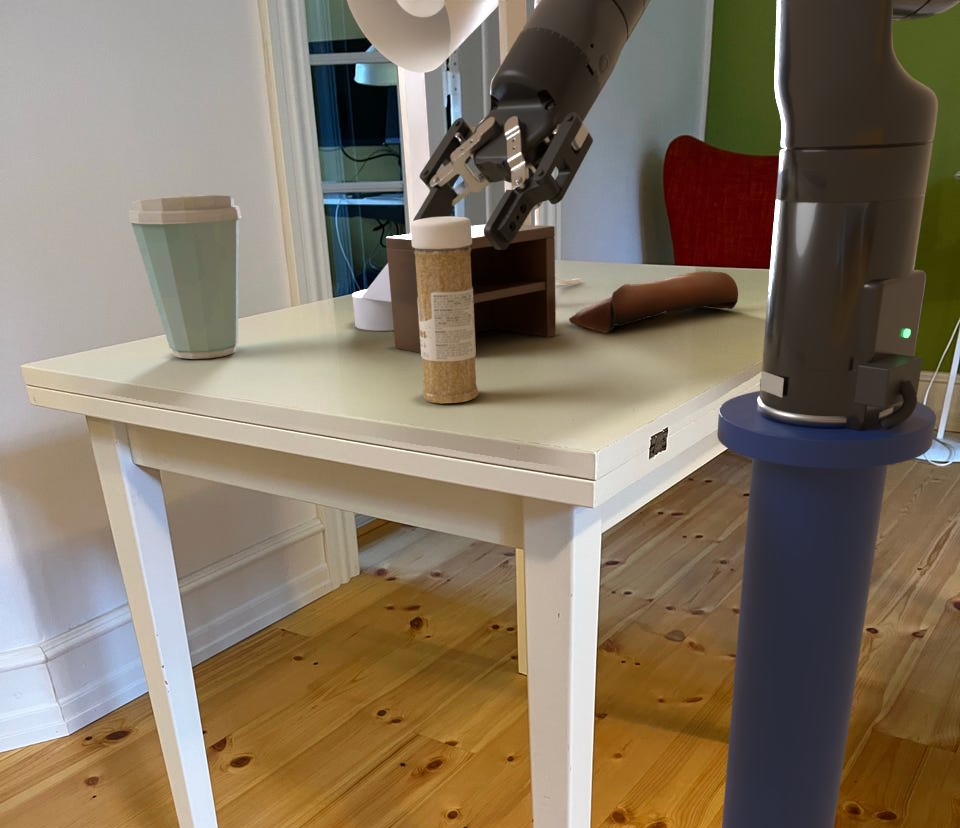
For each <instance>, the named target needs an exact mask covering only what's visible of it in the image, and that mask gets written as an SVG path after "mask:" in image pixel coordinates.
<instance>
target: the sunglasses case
mask: <svg viewBox="0 0 960 828" xmlns="http://www.w3.org/2000/svg"><path fill="white" fill-rule="evenodd" d="M738 300H739V288H738V285H737V283H736V281H735V279H734V278H733V277H732V276H731V275H729V274H728V273H726V272H723V271H712V270H708V271H707V270H706V271H705V270H704V271H694V272H693V271H692V272H687V273H683V274H678V275H674V276H670V277H669V278H668V277H667V278H665V279H662V280H656V281H648V282H641V283H640V282H639V283H625V284H623V285H621V286H619V287H618V288H617V289H616V290H614V291H613V292H612V295H611V296H610V297H607V298H604V299H603V300H600V301H597V302H594V303H592V304H589V305H587V306H586V307H584V308H582V309H580V310H579V311H578V312H576V313H574V314H573V315H571V316H570V317H569V318H568V320H569V321H568V322H570V324H573V325H576V326H578V327H579V328H582V329H585V330H588V331H593V332H598V333H603V334H608V333H609V332H610V331H612V330H613V328H615V326H618V327H619V326H620V327H621V326H624V325H627V324H631V323H634V322H638V321H642V320H645V319H647V318H649V317H651V318H652V317H653V318H654V317H656V316H658V315H661V314H663V313H673V312H680V311H681V312H682V311H685V310H689V309H693V308H705V307H707V308H711V309H729V310H732V309H734V308H735V307H736V305H737V303H738Z"/></svg>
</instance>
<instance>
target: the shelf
mask: <svg viewBox="0 0 960 828" xmlns="http://www.w3.org/2000/svg"><path fill="white" fill-rule="evenodd" d="M486 224H487V223H486ZM486 224H485V223H484V224H478V225H477V224H476V225H471V230H472V244H471V245H470V248H471V252H470V257H471V279H472V287H473V302H474V324H475V334H476V333H481V332H484V331H489V330H500V331H504V332H505V331H507V332H512V333H518V334H519V333H520V334H526V335H532V336H537V337H538V336H540V337H546V338H549V337H554V336H556V335H557V332H556V331H557V329H556V328H557V326H556V325H557V324H556V320H557V319H556V318H557V317H556V283H555V278H556V246H555V245H556V240H555V237H556V235H555V233H556V230H555V229H556V228H555V226H554V225H541V224H540V225H535V224H531V225H521V226H522V227H521V228H520V230H519V232H518V233H517V235H516V237H515V238H514V239H513V240H512V241H511V242H510V244H509V246H508V247H507V249H505V250H499V249H495V248H494V247H493V245H492V244H491V243H490V242H489V241H488V239H487V238H486V237H485V235H484V227H485V225H486ZM385 243H386V244H385V246H386V255H387V263H388V269H389V281H390V293H391V305H392V316H393V328H394V330H393V339H394V348H395V349H399V350H405V351H409V352H414V353H419V354H421V345H420V330H419V316H418V291H417V274H416V261H415V254H414V251H415V249H416V248H414V247H412V241H411V234H410V233H409V234H408V233H407V234H401V235H393V236H386V237H385Z"/></svg>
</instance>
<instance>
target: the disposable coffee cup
mask: <svg viewBox="0 0 960 828" xmlns="http://www.w3.org/2000/svg"><path fill="white" fill-rule="evenodd" d="M242 218H243V215H242V212H241V207H240V206H239V205H238V204H237V205H236V204H235V198H234V197H232V196H230V195H220V194H219V195H217V194H216V195H215V194H206V195H205V194H204V195H203V194H201V195H183V196H182V195H179V196H178V195H177V196H176V195H175V196H160V197H152V198H144V199H143V198H142V199H138V200H133V201H132V209H130V210H129V211H128V219H129V221H128V223H130V224H131V227H132V230H133V233H134V236H135V239H136V240H135V241H136V243H137V246H138V250H139V252H140V255H141V259H142V263H143V265H144V269H145V271H146V275H147V279H148V282H149V285H150V289H151V291H152V295H153V298H154V302H155V305H156V309H157V311H158V314H159V317H160V321H161V324H162V327H163V331H164V333H165V334H164V335H165V337H166V341H167V343H168V346H169V349H171V350H172V353H173V356H174V357H177V358H179V359H191V360H199V359H214V358H220V357H226V356H229V355H232V354H235V352H236V350H237V344H239V289H240V287H239V280H240V278H239V273H240V220H241V219H242Z"/></svg>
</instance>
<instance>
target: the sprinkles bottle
mask: <svg viewBox="0 0 960 828" xmlns="http://www.w3.org/2000/svg"><path fill="white" fill-rule="evenodd" d="M471 226H472V221H471V219H470V218H468V217H466V216H465V217H464V216H451V215H450V216H448V217H431V218H424V219H419V220H415V221H413V222H412V223H411V241H412V247H414V248H416V249H415V251H414V254H415V261H416V274H417V291H418V316H419V330H420V345H421V353H420V356H421V359H422V360H421V361H422V373H423V392H422V395H423V399H425V400H426V401H427V402H429V403H434V404H457V403H464V402H468V401H471V400H474V399H476V398H477V397H478V396H479V388H478V386H477V372H476V355H477V351H476V350H477V349H476V348H477V347H476V333H475V324H474V302H473V287H472V279H471V257H470V252H471V248H470V245H471V244H472V230H471Z"/></svg>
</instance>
